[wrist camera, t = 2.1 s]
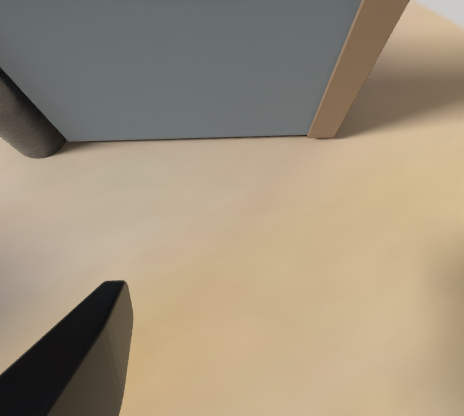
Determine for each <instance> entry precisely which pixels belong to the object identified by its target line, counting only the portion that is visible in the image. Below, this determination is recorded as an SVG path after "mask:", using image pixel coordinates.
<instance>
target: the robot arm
mask: <svg viewBox="0 0 464 416" xmlns="http://www.w3.org/2000/svg"><path fill="white" fill-rule="evenodd" d="M132 328H133V309H132V304H131V299H130V293H129V288H128V285H127V283H126V282H125V281H124V280H116V281H105V282H103V283H102V284H101V285H100V286H99V287H97V288H96V289H95V290H94V291H93V292H92V293H91V294H90V295H89V296H87V297H86V298H85V299H84V300H83V301H82V302H81V303H80V304H79V305H77V306H76V307H75V308H74V309H73V310H72V311H71V312H70V313H69V314H67V315H66V316H65V317H64V318H63V319H62V320H61V321H60V322H59V323H57V324H56V325H55V326H54V327H53V328H52V329H51V330H50V331H49V332H47V333H46V334H45V335H44V336H43V337H42V338H41V339H40V340H39V341H37V342H36V343H35V344H34V345H33V346H32V347H31V348H30V349H29V350H27V351H26V352H25V353H24V354H23V355H22V356H21V357H20V358H19V359H17V360H16V361H15V362H14V363H13V364H12V365H11V366H10V367H8V368H7V369H6V370H5V371H4V372H3V373H2V374H1V375H0V416H119V413H120V409H121V404H122V400H123V395H124V388H125V381H126V373H127V366H128V358H129V351H130V343H131V335H132Z"/></svg>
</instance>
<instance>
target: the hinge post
mask: <svg viewBox="0 0 464 416" xmlns="http://www.w3.org/2000/svg"><path fill="white" fill-rule="evenodd" d="M0 137H1V138H3V139H4V140H5V141H6V142H8V143H9V144H10V145H11V146H13V147H14V148H15V149H16V150H18V151H19V152H20V153H22V154H23V155H25V156H27V157H30V158H44V157H47V156H50V155H52V154H54V153H55V152H57V151H58V150H59V149H60V148H61V147H62V145H63V144H64V142H65V140H66V138H65V137H64V136H63V135H62V134H61V133H60V132H59V131H58V130H57V128H56V127H55V126H54V125H53V124H52V123H51V122H50V121H49V120H48V119H47V118H46V116H45V115H44V114H43V113H42V112H41V111H40V110H39V109H38V108H37V107H36V106H35V104H34V103H33V102H32V101H31V100H30V99H29V98H28V97H27V96H26V95H25V94H24V92H23V91H22V90H21V89H20V88H19V87H18V86H17V85H16V84H15V83H14V82H13V80H12V79H11V78H10V77H9V76H8V75H7V74H6V73H5V72H4V71H3V70H2V68H1V67H0Z"/></svg>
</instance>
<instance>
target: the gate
mask: <svg viewBox="0 0 464 416" xmlns="http://www.w3.org/2000/svg"><path fill="white" fill-rule="evenodd" d="M409 1H410V0H0V67H1V68H2V70H3V71H4V72H5V73H6V74H7V75H8V76H9V77H10V78H11V79H12V80H13V82H14V83H15V84H16V85H17V86H18V87H19V88H20V89H21V90H22V91H23V92H24V94H25V95H26V96H27V97H28V98H29V99H30V100H31V101H32V102H33V103H34V104H35V106H36V107H37V108H38V109H39V110H40V111H41V112H42V113H43V114H44V115H45V116H46V118H47V119H48V120H49V121H50V122H51V123H52V124H53V125H54V126H55V127H56V128H57V130H58V131H59V132H60V133H61V134H62V135H63V136H64V137H65V138H66V139H67V140H68V142H72V141H106V140H140V139H174V138H208V137H242V136H276V135H307V136H308V138H325V137H334V136H335V134H336V132H337V130H338V129H339V127H340V125H341V123H342V121H343V120H344V118H345V116H346V114H347V112H348V111H349V109H350V107H351V105H352V103H353V102H354V100H355V98H356V96H357V94H358V93H359V91H360V89H361V87H362V85H363V83H364V82H365V80H366V78H367V76H368V74H369V73H370V71H371V69H372V67H373V65H374V64H375V62H376V60H377V58H378V56H379V55H380V53H381V51H382V49H383V47H384V46H385V44H386V42H387V40H388V38H389V37H390V35H391V33H392V31H393V29H394V28H395V26H396V24H397V22H398V20H399V19H400V17H401V15H402V13H403V11H404V10H405V8H406V6H407V4H408V2H409Z"/></svg>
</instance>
